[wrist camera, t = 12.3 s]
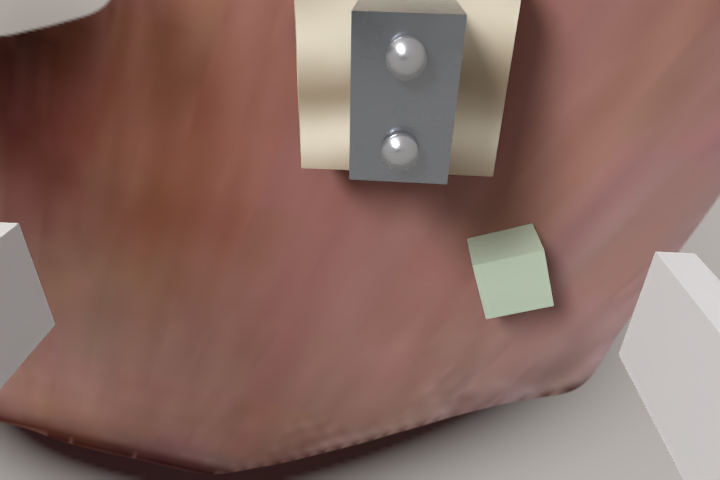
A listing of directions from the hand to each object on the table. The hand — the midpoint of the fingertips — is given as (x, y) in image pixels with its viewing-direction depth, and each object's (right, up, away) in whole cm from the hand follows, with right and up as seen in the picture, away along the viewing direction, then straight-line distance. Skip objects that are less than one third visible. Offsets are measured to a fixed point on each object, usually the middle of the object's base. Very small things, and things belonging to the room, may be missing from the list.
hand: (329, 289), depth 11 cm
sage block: (+12, 0, +30) cm, 33 cm away
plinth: (+3, +13, +23) cm, 27 cm away
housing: (+3, +11, +19) cm, 22 cm away
